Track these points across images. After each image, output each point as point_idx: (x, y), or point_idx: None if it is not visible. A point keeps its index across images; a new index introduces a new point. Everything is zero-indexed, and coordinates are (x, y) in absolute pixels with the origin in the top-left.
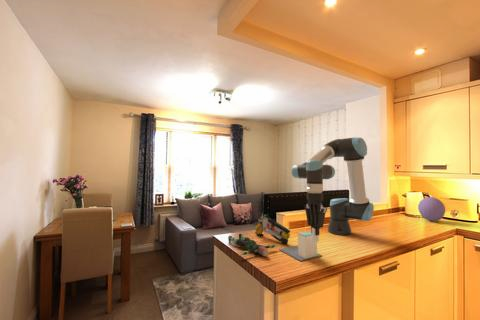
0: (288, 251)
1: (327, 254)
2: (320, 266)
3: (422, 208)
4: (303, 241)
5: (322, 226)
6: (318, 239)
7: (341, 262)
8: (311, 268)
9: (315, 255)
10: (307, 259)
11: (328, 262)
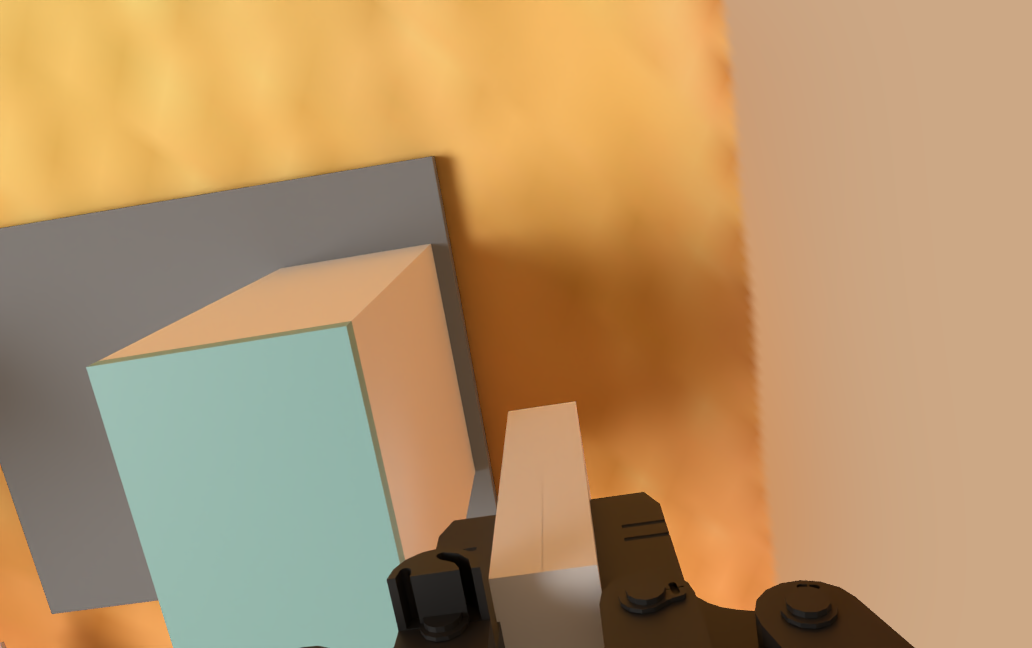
0: None
1: (385, 9)
2: (718, 397)
3: None
4: None
5: (863, 629)
6: (576, 419)
7: (722, 17)
8: (723, 533)
9: (437, 282)
10: (485, 438)
11: (652, 210)
